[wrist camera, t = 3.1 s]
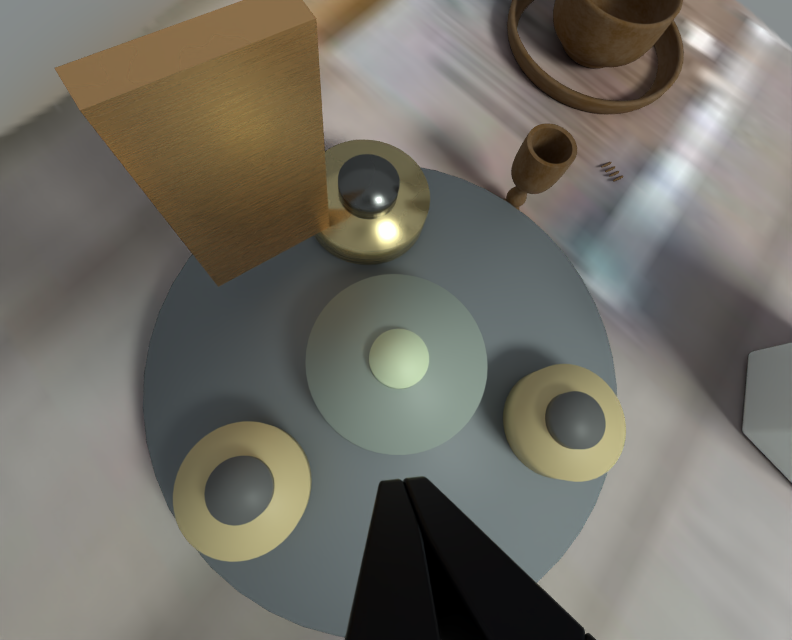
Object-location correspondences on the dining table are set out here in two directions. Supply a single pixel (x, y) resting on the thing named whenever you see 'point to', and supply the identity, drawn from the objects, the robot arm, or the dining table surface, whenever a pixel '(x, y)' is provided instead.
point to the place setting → (595, 48)
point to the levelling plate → (381, 401)
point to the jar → (770, 405)
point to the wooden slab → (246, 141)
